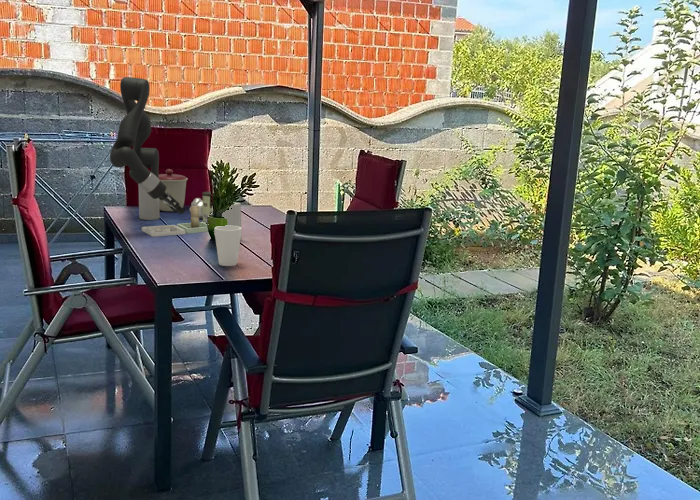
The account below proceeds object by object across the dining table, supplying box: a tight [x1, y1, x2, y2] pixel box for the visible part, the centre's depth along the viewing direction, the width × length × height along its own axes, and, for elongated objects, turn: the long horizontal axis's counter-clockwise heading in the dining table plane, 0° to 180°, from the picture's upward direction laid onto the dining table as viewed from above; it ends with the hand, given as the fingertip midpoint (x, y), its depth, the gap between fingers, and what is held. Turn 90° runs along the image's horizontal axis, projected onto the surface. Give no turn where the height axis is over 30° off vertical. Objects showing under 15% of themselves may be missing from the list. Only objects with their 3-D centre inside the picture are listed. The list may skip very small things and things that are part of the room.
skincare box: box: [222, 202, 243, 241], centre depth 271 cm, size 8×7×16 cm
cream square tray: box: [141, 224, 187, 237], centre depth 278 cm, size 14×14×2 cm
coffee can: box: [202, 190, 213, 223], centre depth 309 cm, size 10×10×14 cm
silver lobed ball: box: [189, 197, 203, 220], centre depth 318 cm, size 9×10×10 cm
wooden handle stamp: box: [186, 206, 201, 228], centre depth 285 cm, size 6×6×10 cm
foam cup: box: [213, 225, 243, 267], centre depth 232 cm, size 10×9×13 cm
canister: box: [159, 168, 189, 212], centre depth 336 cm, size 18×18×21 cm
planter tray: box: [176, 221, 209, 234], centre depth 286 cm, size 12×12×3 cm
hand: (179, 211), depth 280 cm, fingers open, 8 cm apart
